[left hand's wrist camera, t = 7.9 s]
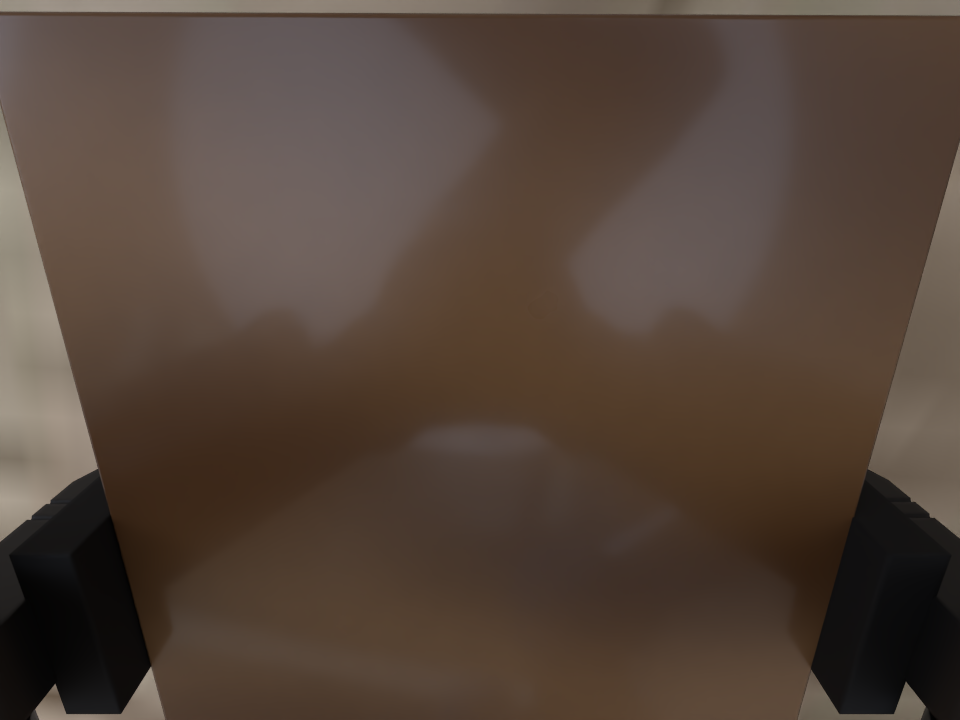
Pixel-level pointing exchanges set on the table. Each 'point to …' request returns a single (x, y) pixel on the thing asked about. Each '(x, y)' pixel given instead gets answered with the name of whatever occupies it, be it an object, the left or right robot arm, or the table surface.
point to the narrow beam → (482, 340)
